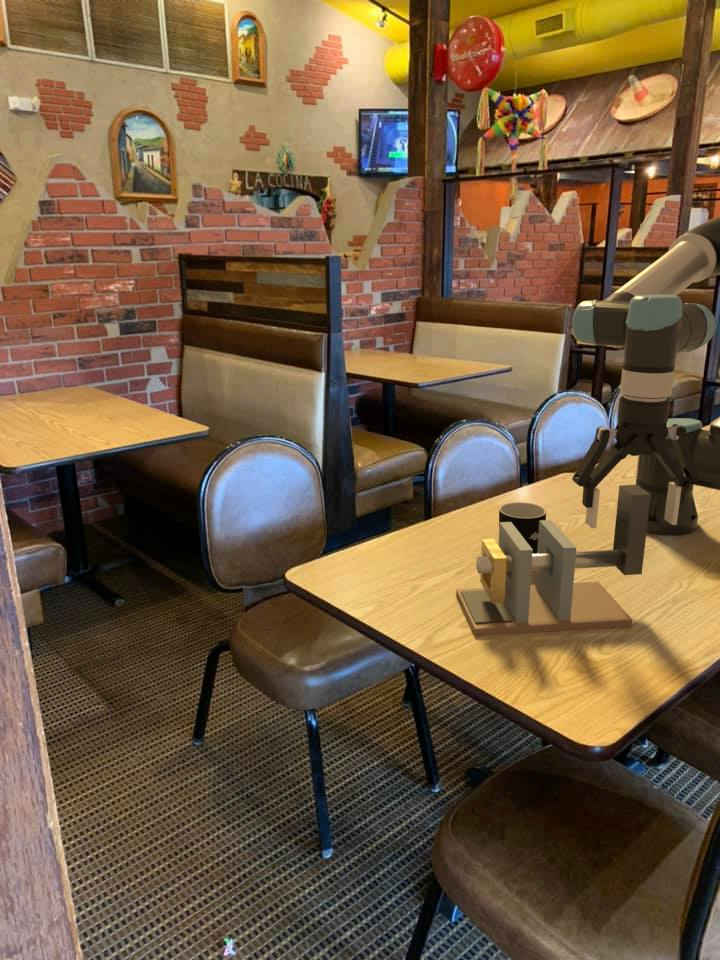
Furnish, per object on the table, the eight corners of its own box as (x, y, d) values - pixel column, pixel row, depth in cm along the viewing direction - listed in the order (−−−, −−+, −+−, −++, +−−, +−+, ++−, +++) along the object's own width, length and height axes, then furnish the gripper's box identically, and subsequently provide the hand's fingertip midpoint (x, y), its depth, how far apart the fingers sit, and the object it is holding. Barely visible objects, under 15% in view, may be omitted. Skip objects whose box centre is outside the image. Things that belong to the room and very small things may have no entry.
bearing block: (597, 587, 130) (604, 515, 126) (631, 626, 117) (640, 546, 113) (456, 595, 128) (458, 522, 124) (474, 635, 115) (477, 555, 111)
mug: (529, 571, 137) (532, 521, 134) (488, 559, 143) (490, 511, 140) (557, 551, 146) (561, 504, 143) (518, 540, 152) (520, 495, 149)
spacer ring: (491, 581, 125) (493, 538, 122) (504, 603, 117) (506, 557, 115) (480, 581, 125) (482, 539, 122) (492, 603, 117) (494, 558, 115)
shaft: (628, 561, 124) (636, 484, 120) (641, 574, 119) (650, 494, 115) (474, 569, 122) (477, 491, 118) (481, 582, 117) (484, 502, 113)
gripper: (708, 390, 117) (691, 512, 124) (558, 394, 115) (549, 518, 122) (735, 399, 110) (715, 528, 117) (576, 403, 108) (565, 535, 115)
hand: (630, 523), depth 119 cm, fingers open, 13 cm apart
